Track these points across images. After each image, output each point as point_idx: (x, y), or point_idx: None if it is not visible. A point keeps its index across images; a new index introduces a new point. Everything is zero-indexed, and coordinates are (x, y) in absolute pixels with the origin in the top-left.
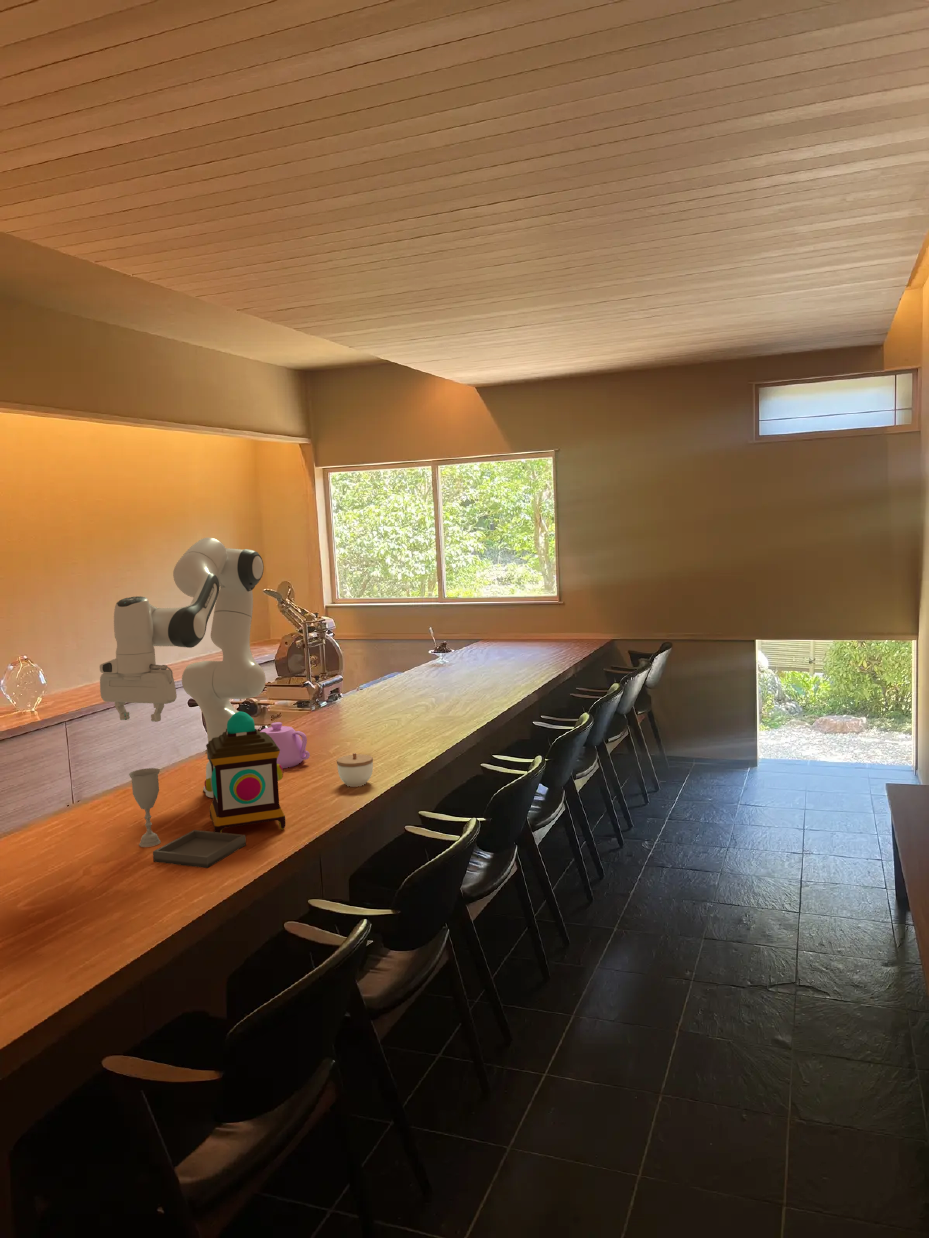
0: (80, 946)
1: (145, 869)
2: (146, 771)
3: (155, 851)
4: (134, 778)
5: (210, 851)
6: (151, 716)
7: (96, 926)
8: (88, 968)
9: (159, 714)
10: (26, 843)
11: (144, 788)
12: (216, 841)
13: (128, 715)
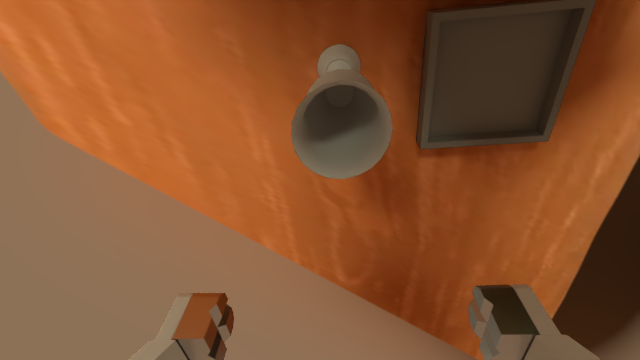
0: None
1: (423, 167)
2: (313, 94)
3: (425, 147)
4: (340, 170)
5: (517, 79)
6: (487, 353)
7: (472, 289)
8: None
9: (551, 335)
10: (115, 146)
11: (363, 142)
12: (503, 21)
13: (212, 317)
